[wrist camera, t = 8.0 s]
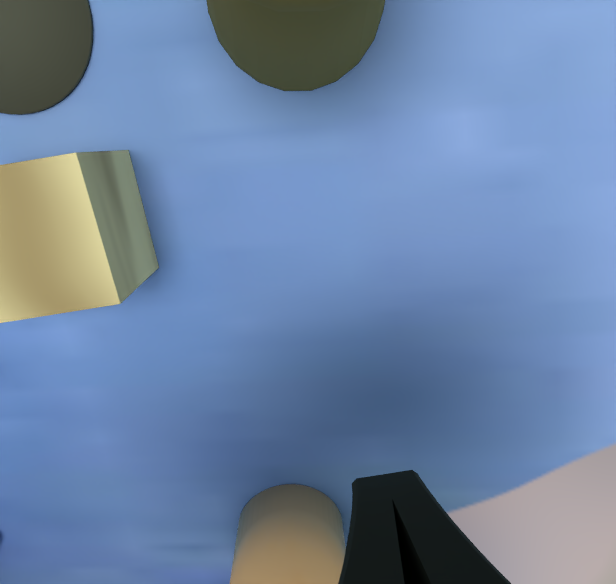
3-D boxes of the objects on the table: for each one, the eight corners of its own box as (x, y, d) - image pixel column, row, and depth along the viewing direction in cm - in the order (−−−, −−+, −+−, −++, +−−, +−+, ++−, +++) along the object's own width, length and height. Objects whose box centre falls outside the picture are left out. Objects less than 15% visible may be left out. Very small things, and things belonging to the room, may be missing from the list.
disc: (58, 145, 17) (56, 145, 17) (-112, 60, 16) (-115, 59, 16) (118, -23, 16) (117, -25, 16) (-65, -128, 15) (-69, -131, 15)
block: (48, 284, 19) (-23, 326, 15) (9, 169, 18) (-82, 178, 13) (159, 267, 19) (120, 304, 15) (129, 149, 18) (76, 152, 13)
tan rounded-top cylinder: (312, 581, 24) (317, 690, 19) (221, 546, 23) (202, 652, 18) (361, 507, 23) (379, 605, 18) (266, 468, 22) (259, 559, 17)
